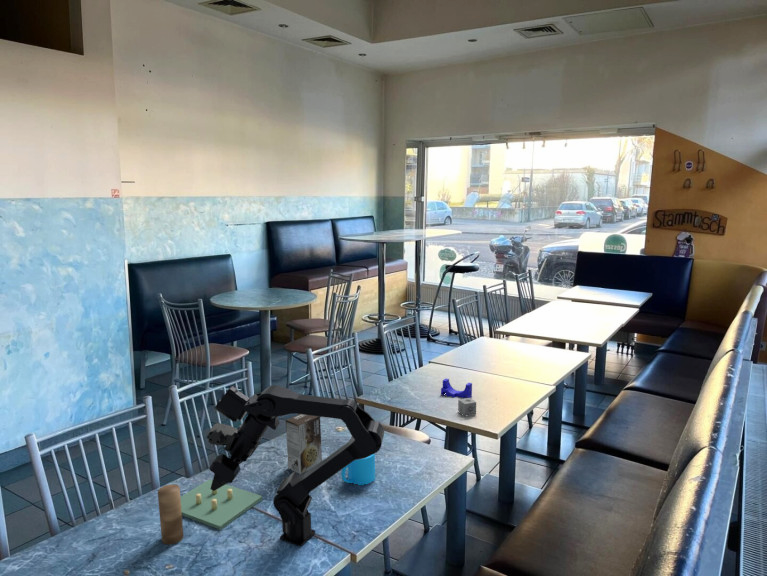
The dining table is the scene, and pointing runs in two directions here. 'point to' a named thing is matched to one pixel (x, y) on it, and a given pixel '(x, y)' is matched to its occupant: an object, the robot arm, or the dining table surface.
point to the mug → (360, 471)
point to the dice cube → (467, 406)
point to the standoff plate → (217, 504)
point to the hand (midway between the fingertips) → (219, 479)
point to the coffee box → (303, 442)
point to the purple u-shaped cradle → (452, 392)
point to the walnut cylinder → (170, 514)
